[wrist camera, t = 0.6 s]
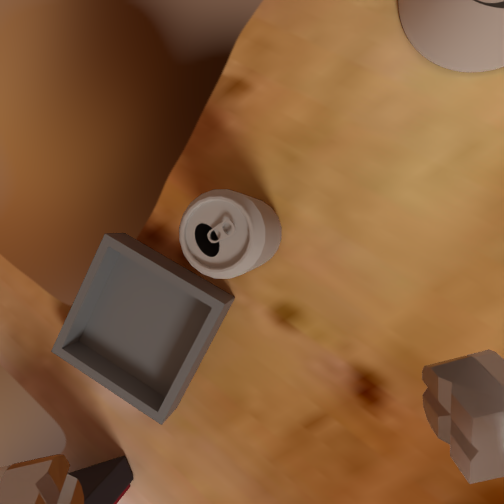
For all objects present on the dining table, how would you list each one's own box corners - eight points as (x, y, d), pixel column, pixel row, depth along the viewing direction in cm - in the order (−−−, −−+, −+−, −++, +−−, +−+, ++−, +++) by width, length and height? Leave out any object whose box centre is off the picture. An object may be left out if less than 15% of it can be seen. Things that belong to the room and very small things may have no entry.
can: (204, 218, 44) (155, 214, 32) (263, 185, 42) (234, 169, 30) (234, 278, 43) (195, 297, 32) (295, 248, 42) (278, 256, 30)
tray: (124, 233, 46) (104, 233, 42) (235, 297, 43) (225, 304, 40) (74, 341, 48) (51, 351, 44) (176, 408, 46) (161, 424, 42)
